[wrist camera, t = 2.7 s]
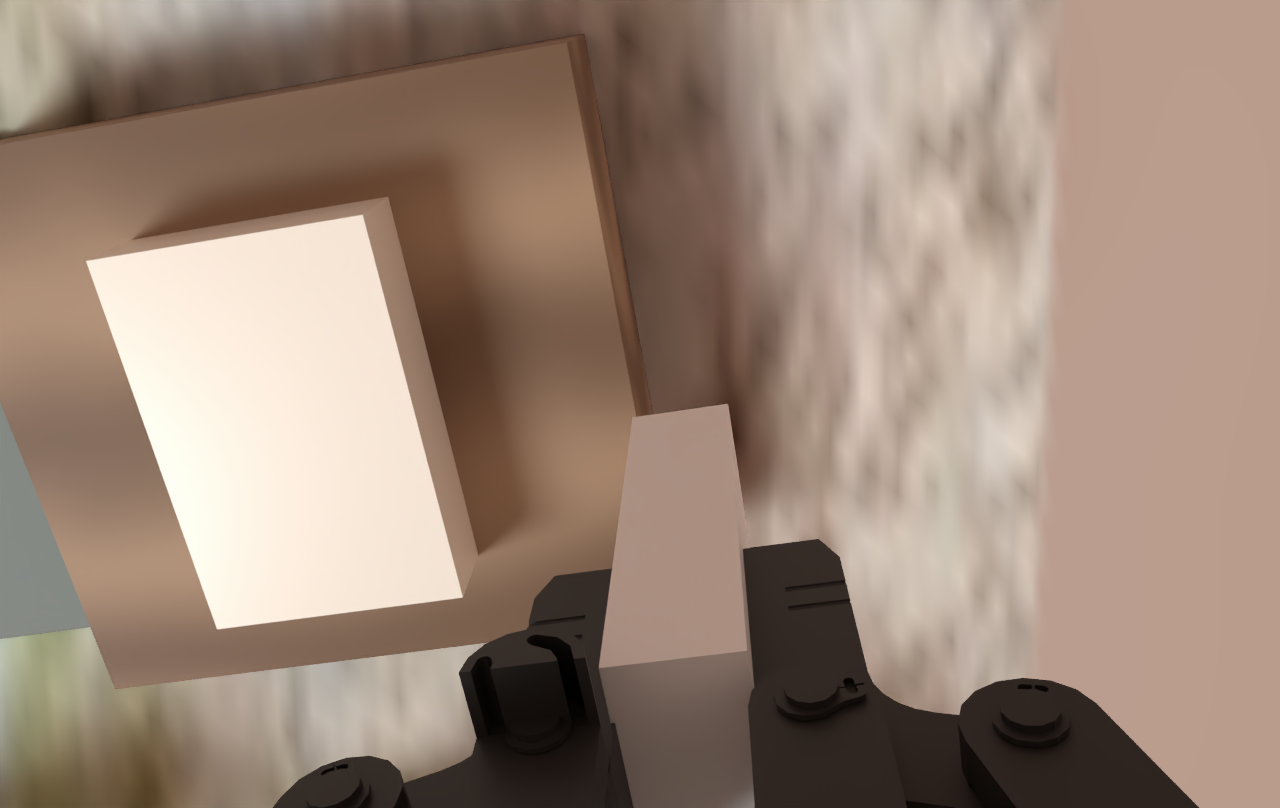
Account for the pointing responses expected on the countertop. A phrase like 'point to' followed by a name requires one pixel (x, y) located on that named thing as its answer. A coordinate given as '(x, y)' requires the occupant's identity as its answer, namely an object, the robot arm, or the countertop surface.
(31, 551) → the mat
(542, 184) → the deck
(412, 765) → the countertop surface
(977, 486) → the countertop surface
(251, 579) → the cream rectangular block
